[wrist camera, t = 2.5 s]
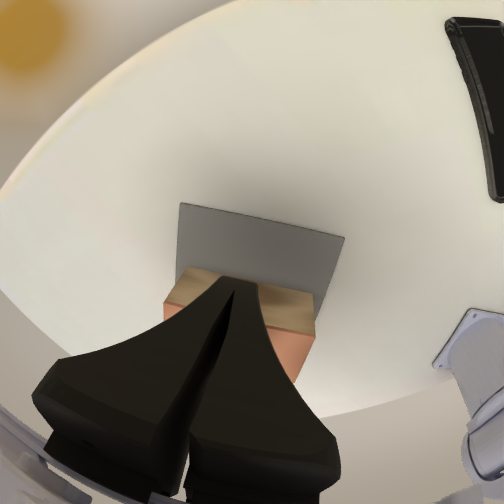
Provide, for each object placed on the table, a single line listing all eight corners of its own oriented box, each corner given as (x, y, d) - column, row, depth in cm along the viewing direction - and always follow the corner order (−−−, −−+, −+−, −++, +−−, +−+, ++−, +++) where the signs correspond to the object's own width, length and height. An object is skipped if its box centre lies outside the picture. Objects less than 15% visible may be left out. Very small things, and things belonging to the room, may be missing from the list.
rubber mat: (344, 237, 19) (344, 238, 19) (277, 402, 29) (277, 404, 29) (181, 202, 20) (179, 203, 20) (176, 379, 30) (175, 381, 29)
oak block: (312, 293, 22) (315, 337, 17) (295, 338, 24) (294, 382, 19) (187, 265, 22) (163, 302, 18) (185, 313, 24) (165, 352, 20)
